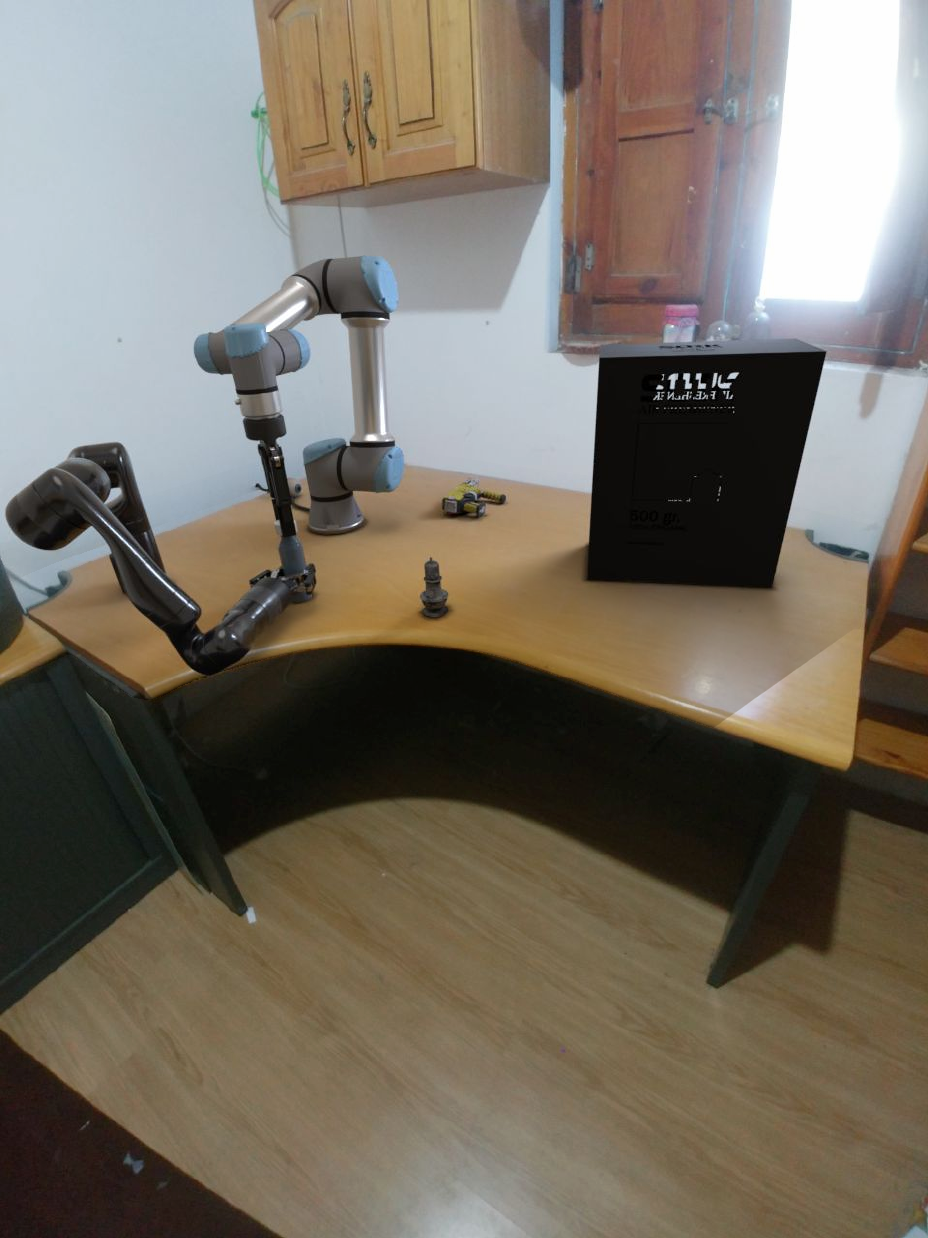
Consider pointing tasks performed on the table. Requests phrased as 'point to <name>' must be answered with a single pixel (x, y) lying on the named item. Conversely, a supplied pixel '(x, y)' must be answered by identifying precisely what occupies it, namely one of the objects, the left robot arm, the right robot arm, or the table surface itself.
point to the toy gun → (468, 499)
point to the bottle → (293, 561)
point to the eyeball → (294, 487)
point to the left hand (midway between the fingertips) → (300, 566)
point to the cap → (278, 527)
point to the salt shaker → (433, 591)
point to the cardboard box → (698, 459)
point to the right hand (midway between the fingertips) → (287, 531)
